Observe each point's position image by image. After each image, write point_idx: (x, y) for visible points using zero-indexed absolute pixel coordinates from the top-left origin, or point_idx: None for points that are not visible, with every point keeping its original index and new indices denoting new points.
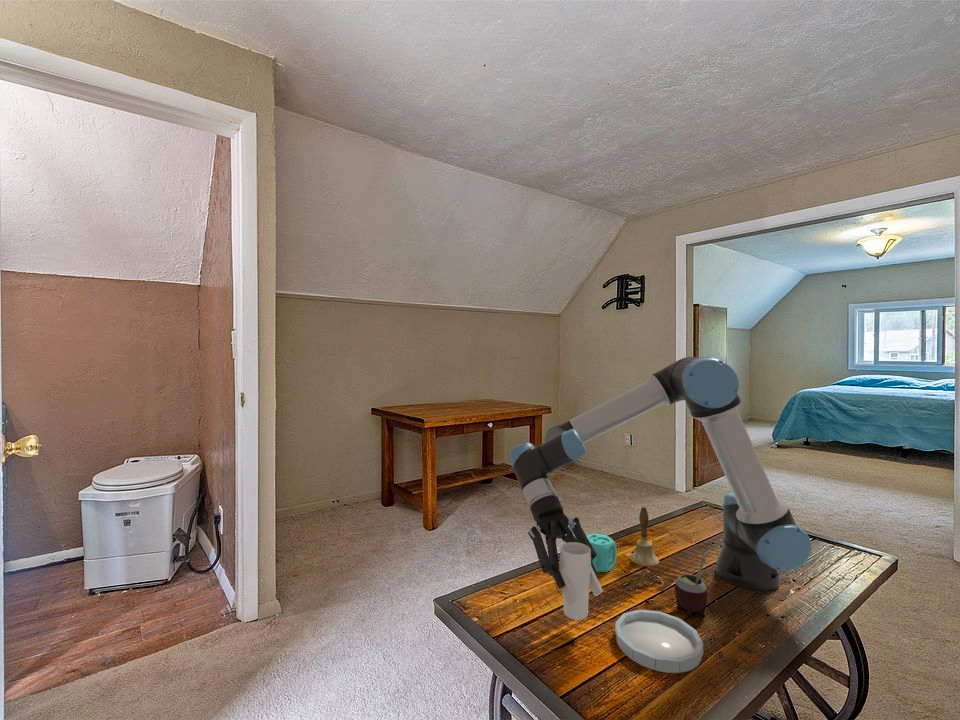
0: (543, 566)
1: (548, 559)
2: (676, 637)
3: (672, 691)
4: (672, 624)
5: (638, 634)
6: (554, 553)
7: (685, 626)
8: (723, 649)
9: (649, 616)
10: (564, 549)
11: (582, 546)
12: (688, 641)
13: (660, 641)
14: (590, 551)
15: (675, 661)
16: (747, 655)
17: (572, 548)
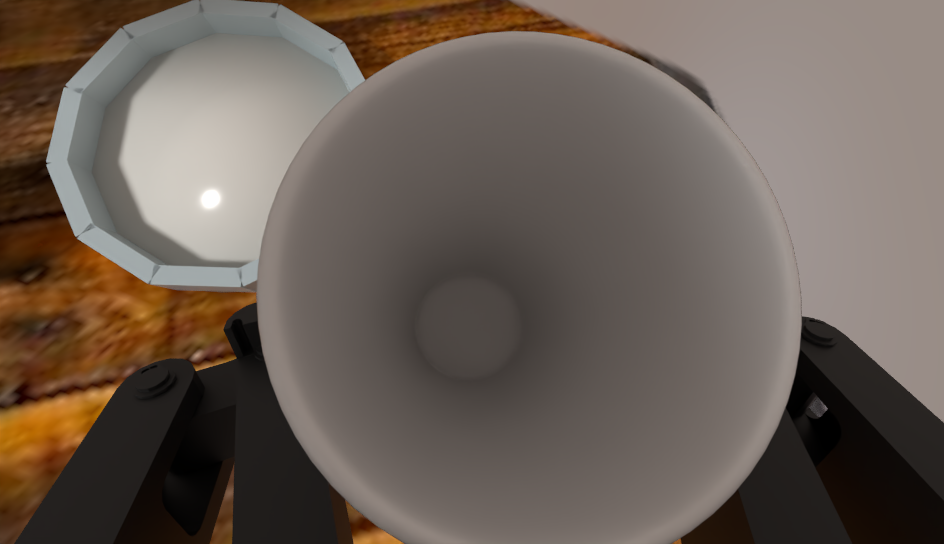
0: (805, 426)
1: (852, 393)
2: (156, 130)
3: (370, 4)
4: (96, 188)
5: (272, 196)
6: (778, 455)
7: (77, 121)
8: (58, 53)
9: (140, 249)
10: (601, 492)
11: (311, 376)
12: (138, 98)
13: (231, 136)
14: (350, 95)
15: (290, 12)
16: (18, 6)
17: (444, 491)
